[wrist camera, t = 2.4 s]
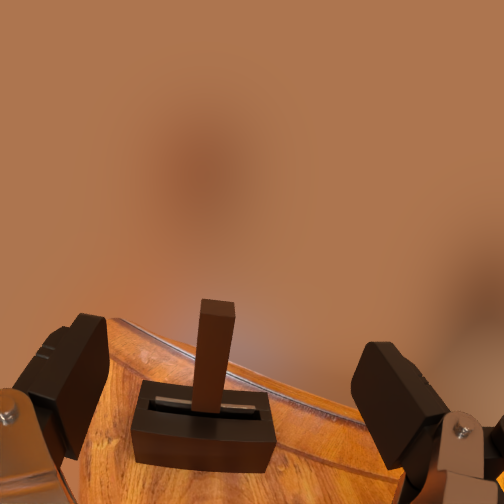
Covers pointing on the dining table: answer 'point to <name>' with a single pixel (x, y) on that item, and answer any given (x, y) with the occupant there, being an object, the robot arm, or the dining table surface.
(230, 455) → the knife stand
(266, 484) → the dining table surface
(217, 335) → the knife
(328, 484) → the dining table surface
